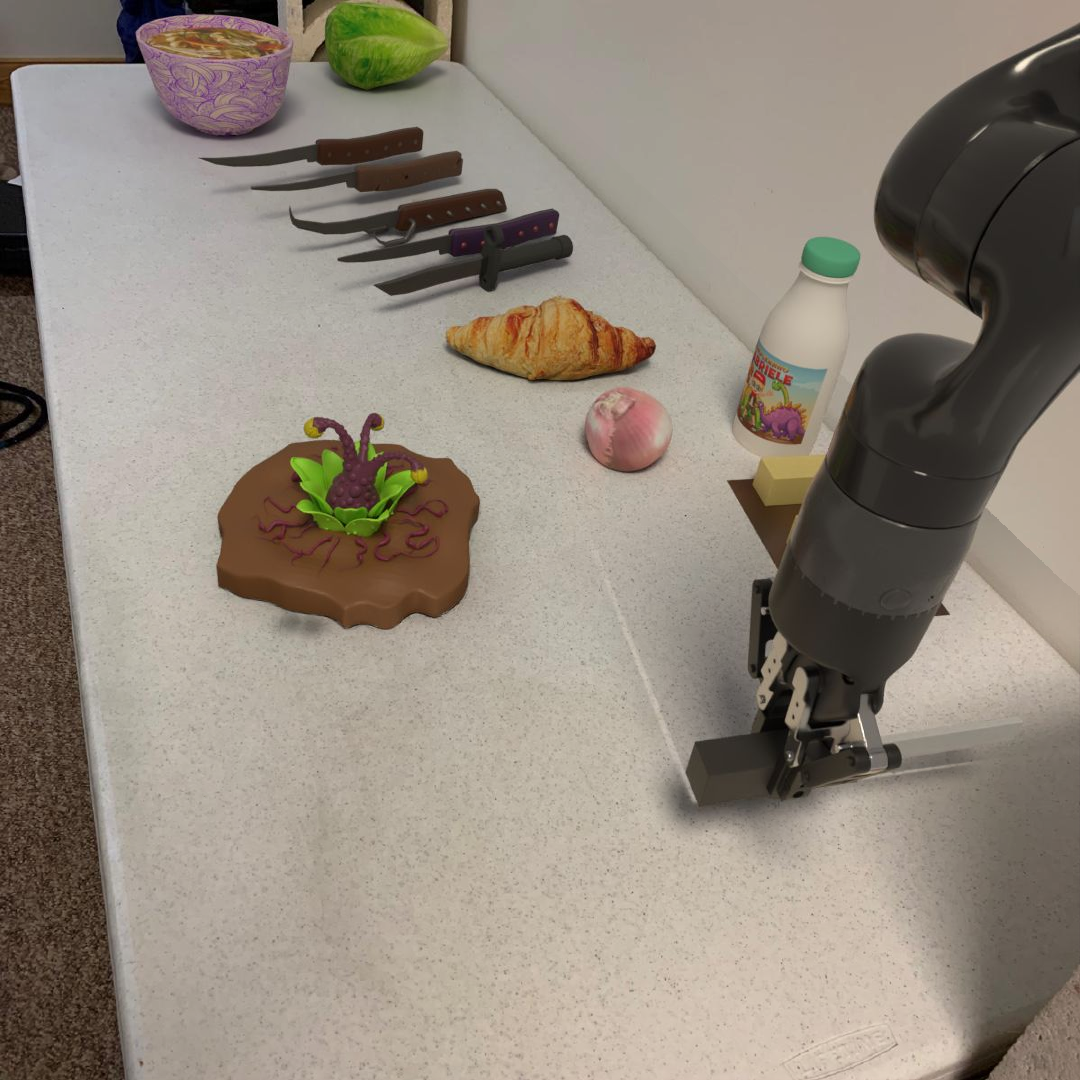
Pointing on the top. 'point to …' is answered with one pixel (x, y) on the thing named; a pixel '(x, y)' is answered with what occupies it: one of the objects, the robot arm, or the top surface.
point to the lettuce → (380, 43)
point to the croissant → (550, 342)
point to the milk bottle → (799, 355)
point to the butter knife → (752, 758)
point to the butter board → (773, 521)
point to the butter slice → (785, 478)
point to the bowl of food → (217, 70)
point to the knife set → (419, 210)
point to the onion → (627, 429)
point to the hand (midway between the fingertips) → (774, 770)
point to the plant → (349, 529)
